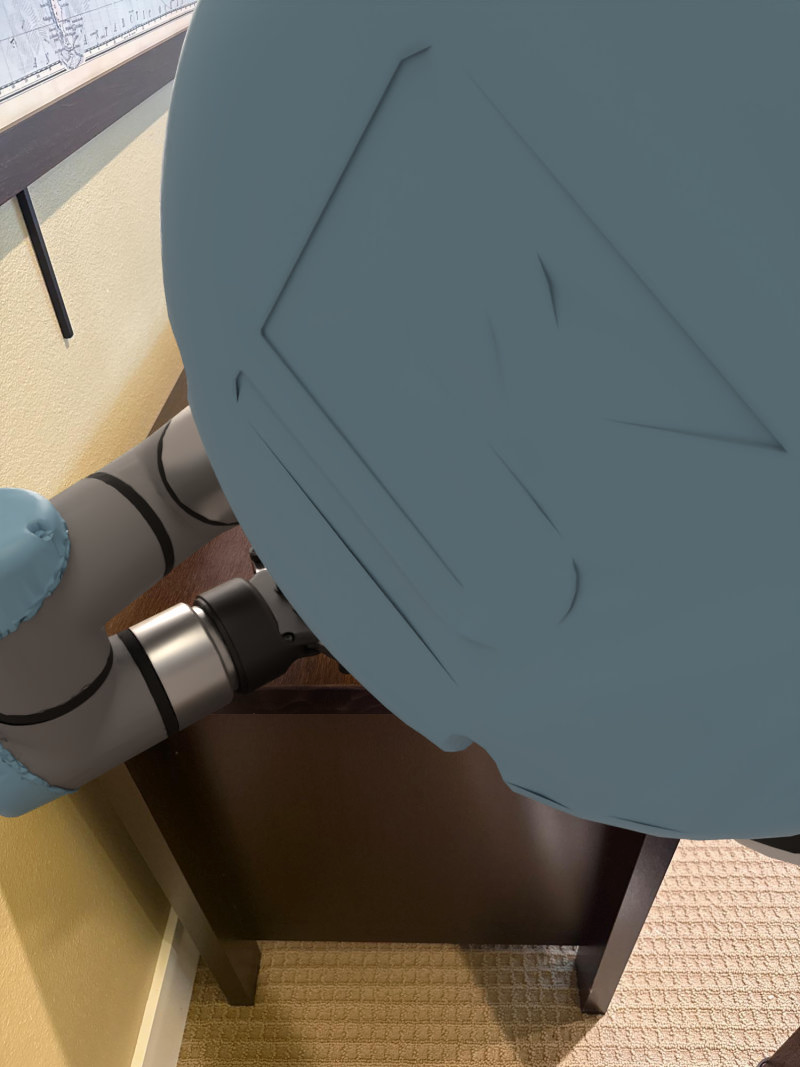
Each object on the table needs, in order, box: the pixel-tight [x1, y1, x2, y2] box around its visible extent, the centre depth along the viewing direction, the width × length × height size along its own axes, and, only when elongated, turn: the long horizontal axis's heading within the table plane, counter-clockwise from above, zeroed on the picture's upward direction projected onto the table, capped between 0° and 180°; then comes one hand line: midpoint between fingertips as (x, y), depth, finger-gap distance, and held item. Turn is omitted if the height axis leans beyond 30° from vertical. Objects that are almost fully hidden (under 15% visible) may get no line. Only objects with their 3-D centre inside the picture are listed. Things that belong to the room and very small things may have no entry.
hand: (475, 515), depth 62 cm, fingers closed on vase, 5 cm apart
